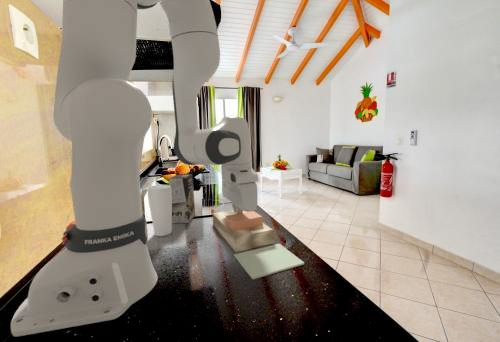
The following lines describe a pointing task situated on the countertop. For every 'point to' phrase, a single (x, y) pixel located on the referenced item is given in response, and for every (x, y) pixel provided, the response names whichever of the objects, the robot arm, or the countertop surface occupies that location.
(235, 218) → the peach brick
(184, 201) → the coffee box
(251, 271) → the mat
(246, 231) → the beige block
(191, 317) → the countertop surface
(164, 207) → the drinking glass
